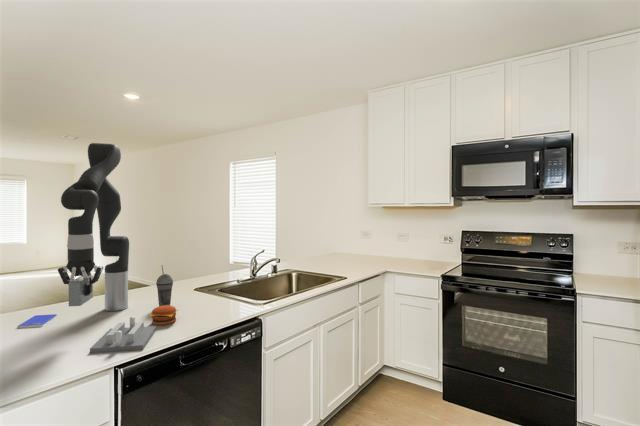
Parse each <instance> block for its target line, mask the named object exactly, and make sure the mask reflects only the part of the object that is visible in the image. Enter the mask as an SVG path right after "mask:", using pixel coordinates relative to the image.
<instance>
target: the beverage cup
mask: <svg viewBox="0 0 640 426" xmlns="http://www.w3.org/2000/svg"><path fill="white" fill-rule="evenodd" d="M161 272H162V274H160V276H159V277H157V279H156V283H155V285H156V288H157V299H158V301H157V302H158V307H159V306H163V305H169V306H171V299H172V292H173V291H172V290H173V286H174V280H173V277H172V276H171V275H170V274H168V273H164V265H162V264H161Z"/></svg>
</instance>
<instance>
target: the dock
mask: <svg viewBox="0 0 640 426" xmlns="http://www.w3.org/2000/svg"><path fill="white" fill-rule="evenodd" d="M144 323H145V321H136V316H135V315H132V316H130V317H129V327H126V326H125V325H126V322H118V323H117V324H116V325H115V326H114V327H113V328H109V330H108V331H107V332H106V333H104V334H103V335H102V336H101V337H100V338H99V339H98V340H97V341H96V342H95V343H94V344H93V345H92V346H91V347H90V348H89V353H90V354H96V353H97V354H98V353H111V352H112V353H113V352H126V351H140V350H142V351H143V350H144V349H145V348H146V346H147V344H148V343H149V342H150V340H151V338H152V337H153V336H154V334H155V333H156V331H157V325H152V326H151V325H150V326H145V325H144Z"/></svg>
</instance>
